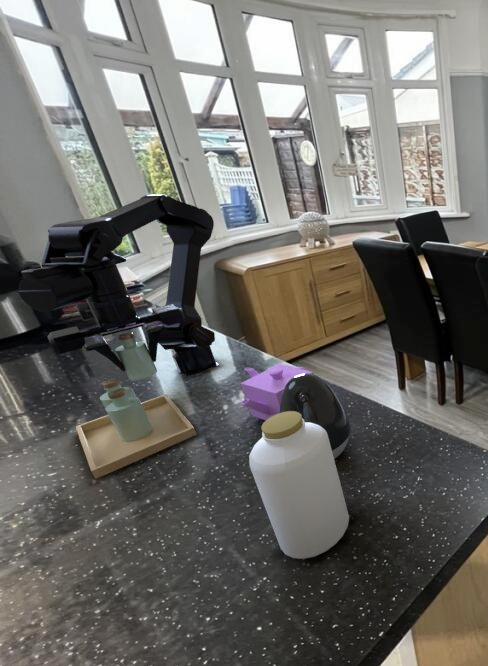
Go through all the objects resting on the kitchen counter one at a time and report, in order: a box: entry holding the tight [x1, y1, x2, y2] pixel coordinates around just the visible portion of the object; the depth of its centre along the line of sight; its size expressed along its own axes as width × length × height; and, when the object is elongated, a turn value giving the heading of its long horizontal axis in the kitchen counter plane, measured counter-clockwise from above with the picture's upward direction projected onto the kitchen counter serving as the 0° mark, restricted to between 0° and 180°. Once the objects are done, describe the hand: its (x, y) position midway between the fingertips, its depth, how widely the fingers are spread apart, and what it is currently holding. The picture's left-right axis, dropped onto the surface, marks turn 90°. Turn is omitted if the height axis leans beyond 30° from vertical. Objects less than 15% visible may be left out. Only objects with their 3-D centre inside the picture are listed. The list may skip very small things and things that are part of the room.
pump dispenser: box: [279, 373, 352, 460], centre depth 62 cm, size 10×10×15 cm
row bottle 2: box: [104, 388, 153, 442], centre depth 69 cm, size 4×4×9 cm
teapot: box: [240, 363, 315, 421], centre depth 73 cm, size 18×13×10 cm
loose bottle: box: [115, 331, 158, 381], centre depth 78 cm, size 4×4×9 cm
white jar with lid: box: [248, 411, 350, 560], centre depth 48 cm, size 8×8×18 cm
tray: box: [75, 393, 198, 479], centre depth 71 cm, size 13×18×2 cm
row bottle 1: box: [99, 377, 137, 410], centre depth 72 cm, size 4×4×9 cm
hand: (139, 365), depth 79 cm, fingers closed on loose bottle, 4 cm apart
